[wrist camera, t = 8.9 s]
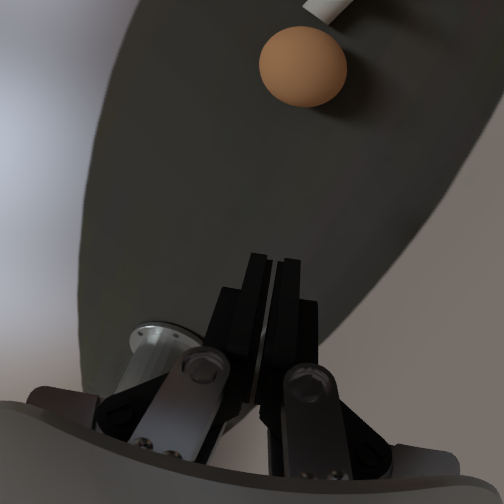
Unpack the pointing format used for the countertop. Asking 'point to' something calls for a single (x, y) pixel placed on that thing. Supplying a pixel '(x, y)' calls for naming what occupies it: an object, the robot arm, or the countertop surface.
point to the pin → (326, 8)
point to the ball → (303, 66)
